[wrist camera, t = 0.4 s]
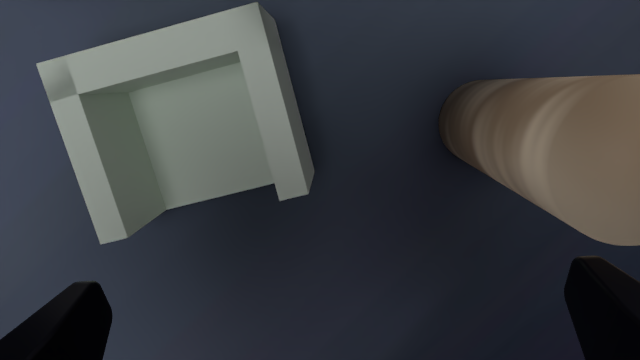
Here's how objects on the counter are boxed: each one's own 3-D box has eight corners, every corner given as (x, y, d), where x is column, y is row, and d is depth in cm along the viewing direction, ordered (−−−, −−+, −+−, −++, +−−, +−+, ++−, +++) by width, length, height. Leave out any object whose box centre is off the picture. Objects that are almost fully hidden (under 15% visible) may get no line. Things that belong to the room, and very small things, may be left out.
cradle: (314, 171, 24) (308, 194, 19) (147, 212, 25) (100, 244, 20) (274, 19, 23) (257, 1, 18) (99, 68, 23) (35, 63, 18)
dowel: (490, 177, 24) (652, 275, 12) (422, 136, 23) (514, 191, 11) (538, 107, 23) (765, 132, 11) (468, 64, 23) (620, 39, 10)
